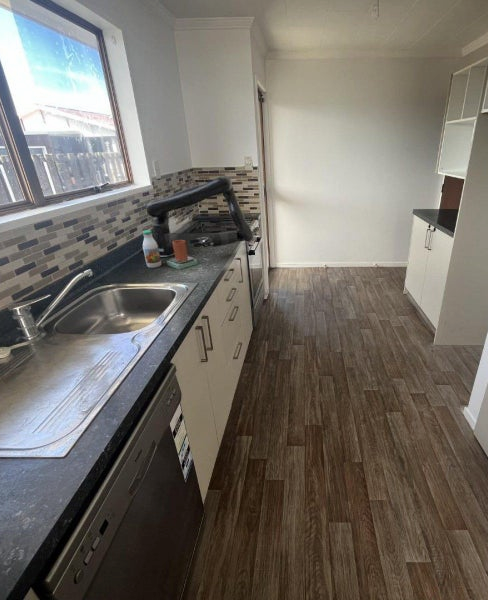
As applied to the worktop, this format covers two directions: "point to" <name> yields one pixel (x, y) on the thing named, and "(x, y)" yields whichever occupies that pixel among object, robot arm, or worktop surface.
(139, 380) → the worktop surface
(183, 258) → the cup
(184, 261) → the scale platform
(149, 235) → the milk bottle
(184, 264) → the scale
